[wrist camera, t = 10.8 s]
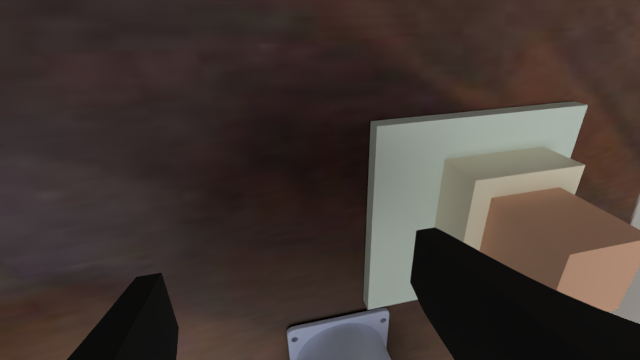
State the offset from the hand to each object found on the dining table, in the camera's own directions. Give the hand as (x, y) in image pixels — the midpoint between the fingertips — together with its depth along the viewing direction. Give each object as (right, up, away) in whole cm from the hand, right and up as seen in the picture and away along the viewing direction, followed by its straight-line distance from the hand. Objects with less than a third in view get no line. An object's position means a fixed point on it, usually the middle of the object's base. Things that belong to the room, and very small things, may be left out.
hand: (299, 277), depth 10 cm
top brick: (+12, 0, +11) cm, 16 cm away
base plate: (+10, +1, +14) cm, 18 cm away
